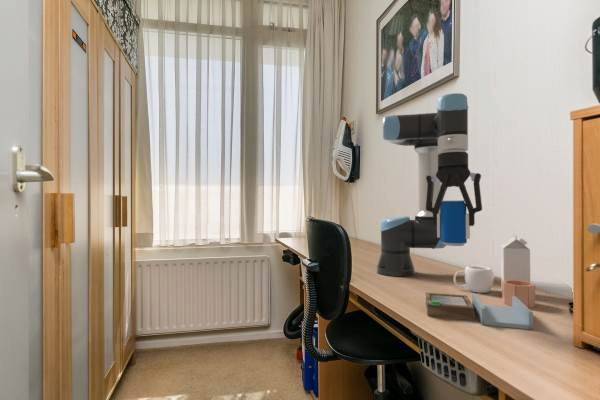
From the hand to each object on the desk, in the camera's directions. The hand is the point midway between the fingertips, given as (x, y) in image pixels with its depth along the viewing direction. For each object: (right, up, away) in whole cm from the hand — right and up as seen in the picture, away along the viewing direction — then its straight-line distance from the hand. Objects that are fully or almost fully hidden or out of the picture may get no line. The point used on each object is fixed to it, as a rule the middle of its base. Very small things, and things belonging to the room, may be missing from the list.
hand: (453, 237), depth 92 cm
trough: (+10, -20, -5) cm, 23 cm away
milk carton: (+27, -20, +17) cm, 38 cm away
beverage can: (0, -2, 0) cm, 2 cm away
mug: (+16, -20, +21) cm, 34 cm away
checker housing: (-1, -20, +1) cm, 20 cm away
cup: (+22, -20, +7) cm, 30 cm away
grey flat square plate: (-1, -18, +1) cm, 18 cm away
